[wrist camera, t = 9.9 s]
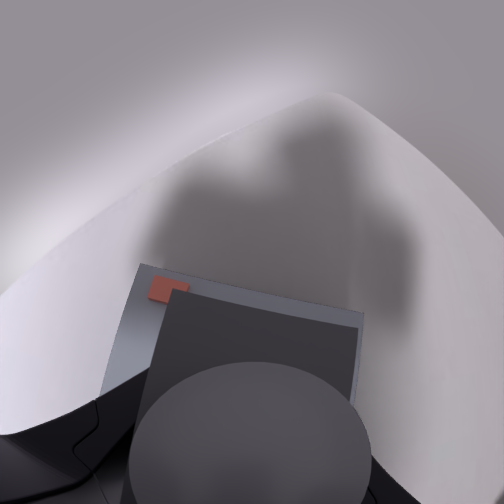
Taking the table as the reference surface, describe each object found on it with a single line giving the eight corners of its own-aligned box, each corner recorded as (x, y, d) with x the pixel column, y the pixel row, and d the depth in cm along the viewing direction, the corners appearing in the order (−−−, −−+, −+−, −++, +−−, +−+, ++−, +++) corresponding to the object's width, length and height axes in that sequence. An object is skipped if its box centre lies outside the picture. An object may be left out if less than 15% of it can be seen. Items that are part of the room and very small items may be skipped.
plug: (249, 453, 12) (352, 616, 1) (186, 440, 12) (68, 576, 1) (265, 374, 15) (427, 285, 3) (204, 361, 15) (147, 221, 3)
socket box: (306, 507, 12) (326, 531, 9) (107, 465, 12) (80, 480, 9) (340, 328, 18) (367, 310, 14) (153, 286, 18) (138, 260, 15)
